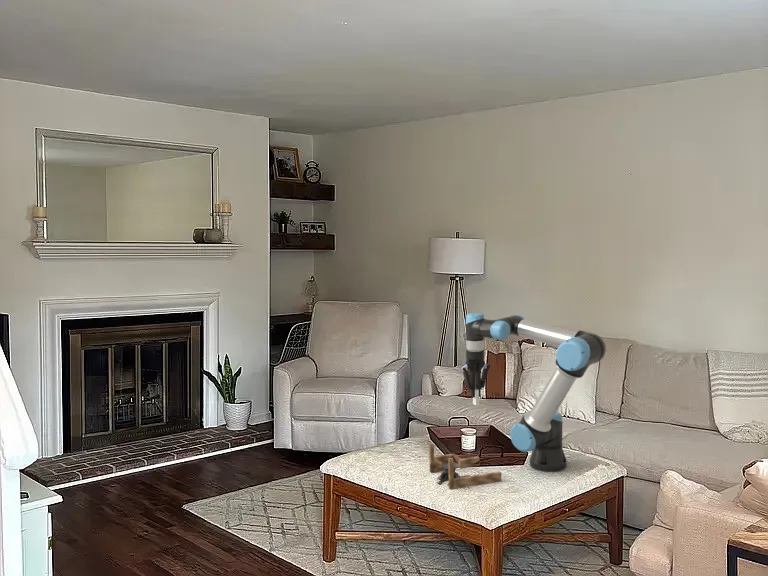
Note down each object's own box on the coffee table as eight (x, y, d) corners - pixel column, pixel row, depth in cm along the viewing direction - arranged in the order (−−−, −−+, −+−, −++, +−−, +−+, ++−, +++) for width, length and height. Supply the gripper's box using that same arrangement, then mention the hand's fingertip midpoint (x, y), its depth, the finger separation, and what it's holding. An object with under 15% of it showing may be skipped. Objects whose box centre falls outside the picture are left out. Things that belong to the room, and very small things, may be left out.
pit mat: (452, 463, 328) (452, 462, 328) (458, 467, 322) (458, 467, 322) (436, 465, 326) (436, 464, 325) (442, 470, 319) (442, 469, 319)
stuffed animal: (429, 480, 306) (442, 457, 313) (437, 496, 311) (450, 472, 318) (454, 486, 299) (467, 462, 306) (462, 502, 304) (475, 477, 311)
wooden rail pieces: (470, 459, 332) (470, 431, 331) (501, 481, 306) (501, 451, 304) (422, 466, 325) (422, 438, 324) (450, 489, 298) (449, 459, 297)
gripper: (485, 346, 331) (485, 400, 334) (457, 349, 327) (458, 404, 329) (493, 349, 324) (493, 404, 327) (464, 352, 320) (465, 408, 322)
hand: (475, 404), depth 328 cm, fingers closed
